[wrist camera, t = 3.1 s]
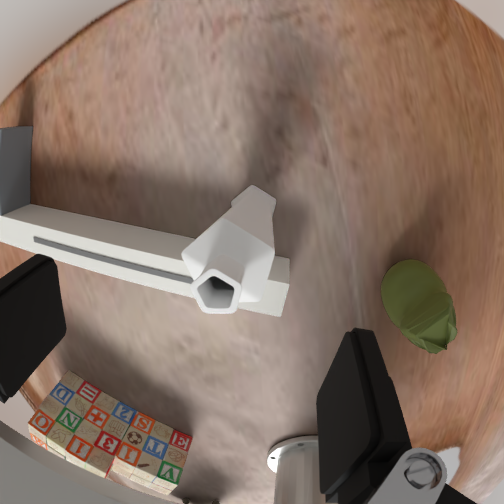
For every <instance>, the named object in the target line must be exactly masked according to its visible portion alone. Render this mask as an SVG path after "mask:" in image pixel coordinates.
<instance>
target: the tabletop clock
mask: <svg viewBox="0 0 504 504" xmlns="http://www.w3.org/2000/svg"><path fill="white" fill-rule="evenodd" d="M182 502H183V503H184V504H189V502H190V500H189V499H188V498H184V499H183V500H182ZM212 504H220V503H219V501H217V500H214V501H213V502H212Z"/></svg>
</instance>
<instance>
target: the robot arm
mask: <svg viewBox="0 0 504 504" xmlns="http://www.w3.org/2000/svg"><path fill="white" fill-rule="evenodd" d="M65 333H66V323H65V317H64V312H63V306H62V299H61V293H60V286H59V278H58V269H57V265H56V263H55V262H54V259H53V258H52V257H49V256H46V255H43V254H36V255H34V256H33V257H31V258H30V259H28V260H27V261H25V262H24V263H22V264H21V265H19V266H18V267H16V268H15V269H13V270H12V271H11V272H9V273H8V274H6V275H5V276H3V277H2V278H1V279H0V401H1V402H3V403H5V402H6V401H7V400H8V398H9V397H13V396H14V395H15V394H16V392H17V391H18V390H19V389H20V387H21V386H22V385H23V384H24V383H25V381H26V380H27V379H28V378H29V377H30V375H31V374H32V373H33V372H34V371H35V369H36V368H37V367H38V366H39V365H40V363H41V362H42V361H43V360H44V359H45V358H46V356H47V355H48V354H49V353H50V352H51V351H52V350H53V348H54V347H55V346H56V345H57V344H58V343H59V342H60V340H61V339H62V338H63V337H64V336H65ZM316 405H317V424H318V436H301V437H296V438H292V439H288V440H285V441H283V442H280V443H278V444H277V445H275V446H274V447H273V448H271V449H270V451H269V452H268V456H267V464H268V466H269V467H270V469H271V470H273V471H274V472H276V483H275V494H274V504H477V503H475V502H474V501H472V500H470V499H469V498H467V497H466V496H464V495H463V494H461V493H460V492H458V491H457V490H455V489H454V488H452V487H451V486H449V485H448V484H446V483H445V482H446V479H447V470H446V467H445V464H444V462H443V461H442V459H441V458H440V457H439V456H438V455H437V454H436V453H434V452H433V451H431V450H428V449H425V448H413V449H412V446H411V442H410V439H409V435H408V431H407V428H406V424H405V421H404V417H403V414H402V410H401V407H400V404H399V400H398V397H397V394H396V391H395V388H394V384H393V381H392V379H391V378H390V377H389V376H388V373H387V370H386V367H385V364H384V360H383V358H382V355H381V352H380V349H379V346H378V343H377V340H376V337H375V334H374V332H373V331H371V330H365V329H359V328H354V329H353V330H352V331H351V332H346V333H345V335H344V338H343V340H342V342H341V344H340V347H339V349H338V351H337V354H336V356H335V358H334V360H333V362H332V365H331V367H330V369H329V371H328V373H327V375H326V377H325V380H324V382H323V384H322V386H321V388H320V390H319V392H318V395H317V401H316ZM0 504H179V503H175V502H172V501H168V500H165V499H161V498H158V497H155V496H152V495H149V494H146V493H143V492H140V491H137V490H134V489H131V488H128V487H126V486H123V485H120V484H118V483H115V482H113V481H110V480H108V479H106V478H103V477H101V476H98V475H96V474H94V473H92V472H89V471H87V470H85V469H83V468H81V467H79V466H77V465H75V464H73V463H71V462H69V461H67V460H65V459H63V458H61V457H59V456H57V455H55V454H53V453H52V452H50V451H48V450H46V449H44V448H43V447H41V446H39V445H37V444H36V443H34V442H32V441H31V440H29V439H28V438H25V437H24V436H23V435H21V434H20V433H18V432H17V431H15V430H13V429H12V428H10V427H9V426H7V425H6V424H4V423H3V422H2V421H0Z"/></svg>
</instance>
